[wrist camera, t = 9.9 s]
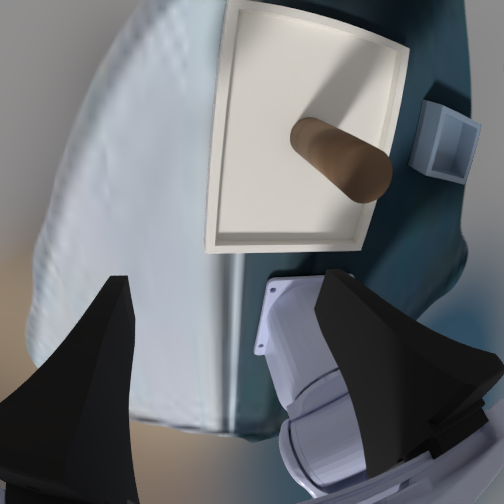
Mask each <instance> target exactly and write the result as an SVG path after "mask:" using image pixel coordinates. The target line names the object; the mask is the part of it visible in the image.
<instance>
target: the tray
mask: <svg viewBox="0 0 504 504" xmlns="http://www.w3.org/2000/svg"><path fill="white" fill-rule="evenodd" d="M409 50H410V49H409V48H407V47H405V46H403V45H401V44H398V43H396V42H394V41H392V40H389V39H387V38H385V37H382V36H380V35H377V34H375V33H372V32H370V31H367V30H364V29H362V28H359V27H356V26H353V25H350V24H347V23H344V22H341V21H338V20H335V19H331V18H328V17H325V16H321V15H317V14H314V13H310V12H306V11H302V10H298V9H293V8H289V7H284V6H279V5H274V4H268V3H262V2H256V1H249V0H228V1H227V2H226V7H225V14H224V21H223V28H222V35H221V43H220V51H219V59H218V67H217V76H216V85H215V95H214V105H213V116H212V127H211V138H210V151H209V164H208V179H207V195H206V213H205V235H204V247H205V253H206V254H216V253H269V252H321V251H361V248H362V245H363V242H364V239H365V236H366V233H367V230H368V227H369V224H370V221H371V218H372V215H373V211H374V208H375V205H376V201H377V200H375V201H373V202H370V203H365V204H361V203H356V202H354V201H352V200H351V199H350V198H348V197H347V196H346V195H345V194H344V193H343V192H342V191H341V190H340V189H339V188H337V187H336V186H335V185H334V184H333V183H332V182H331V181H330V180H328V179H327V178H326V177H325V176H324V175H323V174H322V173H320V172H319V171H318V170H317V169H316V168H315V167H313V166H312V165H311V164H310V163H309V162H307V161H306V160H305V159H304V158H303V157H301V156H300V155H299V154H298V153H297V152H295V150H294V149H293V148H292V146H291V143H290V133H291V130H292V128H293V126H294V125H295V124H296V123H297V122H298V121H299V120H301V119H303V118H307V117H313V118H317V119H319V120H321V121H324V122H326V123H328V124H330V125H332V126H335V127H337V128H339V129H341V130H343V131H345V132H347V133H349V134H351V135H353V136H355V137H357V138H359V139H361V140H363V141H365V142H367V143H369V144H371V145H373V146H375V147H377V148H379V149H380V150H382V151H384V152H385V153H386V154H387V155H388V157H389V154H390V150H391V145H392V141H393V137H394V133H395V128H396V124H397V119H398V114H399V109H400V104H401V99H402V94H403V88H404V82H405V77H406V70H407V64H408V57H409Z"/></svg>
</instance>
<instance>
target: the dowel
mask: <svg viewBox="0 0 504 504" xmlns="http://www.w3.org/2000/svg"><path fill="white" fill-rule="evenodd" d="M290 143H291V146H292V148H293V149H294V150H295V152H297V153H298V154H299V155H300V156H301V157H303V158H304V159H305V160H306V161H307V162H309V163H310V164H311V165H312V166H313V167H315V168H316V169H317V170H318V171H319V172H320V173H322V174H323V175H324V176H325V177H326V178H327V179H328V180H330V181H331V182H332V183H333V184H334V185H335V186H336V187H337V188H339V189H340V190H341V191H342V192H343V193H344V194H345V195H346V196H347V197H348V198H350V199H351V200H352V201H354V202H356V203H361V204H365V203H370V202H373V201H375V200H377V199H378V198H379V197H381V196H382V195H383V194H384V193H385V191H386V190H387V188H388V187H389V185H390V182H391V179H392V174H393V168H392V163H391V160H390V158H389V157H388V155H387V154H386V153H385V152H384V151H382V150H380V149H379V148H377V147H375V146H373V145H371V144H369V143H367V142H365V141H363V140H361V139H359V138H357V137H355V136H353V135H351V134H349V133H347V132H345V131H343V130H341V129H339V128H337V127H335V126H332V125H330V124H328V123H326V122H324V121H321V120H319V119H317V118H313V117H307V118H303V119H301V120H299V121H298V122H297V123H296V124H295V125H294V126H293V128H292V130H291V133H290Z"/></svg>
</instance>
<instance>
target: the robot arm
mask: <svg viewBox="0 0 504 504" xmlns="http://www.w3.org/2000/svg"><path fill="white" fill-rule="evenodd" d="M271 288H274V289H272V290H271ZM134 346H135V314H134V309H133V304H132V299H131V293H130V287H129V281H128V276H110V277H109V278H108V280H107V281H106V283H105V284H104V286H103V287H102V288H101V290H100V291H99V293H98V294H97V296H96V297H95V299H94V300H93V302H92V303H91V305H90V306H89V307H88V309H87V310H86V312H85V313H84V314H83V316H82V317H81V319H80V320H79V321H78V323H77V324H76V325H75V327H74V328H73V329H72V330H71V332H70V333H69V334H68V336H67V337H66V338H65V340H64V341H63V342H62V343H61V344H60V346H59V347H58V348H57V349H56V350H55V351H54V353H53V354H52V355H51V356H50V357H49V358H48V359H47V360H46V362H45V363H44V364H43V365H42V366H41V367H40V368H39V369H38V370H37V371H36V372H35V373H34V374H33V375H32V376H31V377H30V378H29V379H28V380H27V381H26V382H24V383H23V384H22V385H21V386H20V387H19V388H18V389H17V390H15V391H14V392H13V393H12V394H11V395H9V396H8V397H7V398H6V399H5V400H3V401H2V402H1V403H0V479H1V480H3V481H4V482H6V490H5V489H2V488H0V504H140V503H139V498H138V493H137V487H136V482H135V476H134V470H133V461H132V453H131V443H130V430H129V391H130V381H131V371H132V363H133V354H134ZM254 353H255V354H256V355H264V354H265V357H266V360H267V364H268V367H269V370H270V373H271V376H272V379H273V383H274V386H275V389H276V392H277V395H278V398H279V401H280V403H281V405H282V406H283V407H284V409H285V410H286V411H287V412H288V415H289V419H287V420H285V421H284V422H283V424H282V426H281V431H280V434H279V447H280V452H281V455H282V458H283V461H284V463H285V466H286V468H287V469H288V471H289V473H290V474H291V476H292V477H293V478H294V480H295V481H296V482H297V483H298V484H300V485H301V486H303V487H304V488H305V489H306V490H307V491H308V492H309V493H310V494H311V495H312V496H313V498H314V499H312V500H308V501H304V502H300V503H297V504H473V503H474V502H475V501H476V500H477V498H478V497H479V496H480V495H481V494H482V493H483V491H484V490H485V489H486V488H487V487H488V485H489V484H490V483H491V482H492V480H493V479H494V478H495V477H496V475H497V474H498V472H499V471H500V470H501V469H502V467H503V466H504V400H503V399H500V400H499V401H497V402H496V403H495V404H494V405H492V406H491V407H490V408H488V409H487V410H486V411H485V412H484V411H483V409H482V407H483V406H484V405H485V402H484V401H483V399H482V397H483V396H484V395H485V394H486V393H487V392H488V391H489V390H490V389H491V388H492V387H493V386H494V385H495V384H496V383H497V382H498V380H499V379H500V378H501V377H502V376H503V375H504V364H503V363H502V361H501V360H500V359H499V357H498V356H497V355H496V354H494V353H490V352H487V351H483V350H480V349H476V348H473V347H470V346H467V345H465V344H462V343H459V342H457V341H454V340H452V339H450V338H447V337H445V336H443V335H441V334H439V333H437V332H435V331H433V330H431V329H429V328H427V327H426V326H424V325H422V324H420V323H419V322H417V321H415V320H413V319H412V318H410V317H409V316H407V315H405V314H404V313H402V312H401V311H399V310H398V309H396V308H395V307H393V306H392V305H391V304H389V303H388V302H386V301H385V300H384V299H382V298H381V297H379V296H378V295H377V294H375V293H374V292H373V291H371V290H370V289H369V288H367V287H366V286H365V285H363V284H362V283H360V282H359V281H358V280H356V279H355V278H354V276H353V275H352V274H348V273H346V272H345V271H343V270H341V269H327V270H326V273H325V275H317V276H298V277H277V278H271V279H269V280H268V282H267V285H266V290H265V296H264V301H263V306H262V311H261V316H260V322H259V327H258V332H257V337H256V342H255V347H254Z"/></svg>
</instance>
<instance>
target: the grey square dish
mask: <svg viewBox="0 0 504 504" xmlns="http://www.w3.org/2000/svg"><path fill="white" fill-rule="evenodd" d="M480 129H481V125H480V124H478V123H477V122H475V121H473V120H471V119H470V118H468V117H466V116H464V115H462V114H460V113H458V112H456V111H454V110H452V109H450V108H448V107H446V106H444V105H441V104H437V103H434V102H430V101H427V100H423V103H422V108H421V113H420V118H419V122H418V127H417V131H416V135H415V139H414V143H413V148H412V151H411V155H410V159H409V163H408V166H410V167H412V168H414V169H415V170H417V171H419V172H421V173H422V174H424V175H426V176H431V177H435V178H439V179H444V180H448V181H452V182H456V183H460V184H464V185H465V184H466V181H467V177H468V174H469V171H470V167H471V164H472V161H473V157H474V153H475V150H476V146H477V142H478V138H479V134H480Z"/></svg>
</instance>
